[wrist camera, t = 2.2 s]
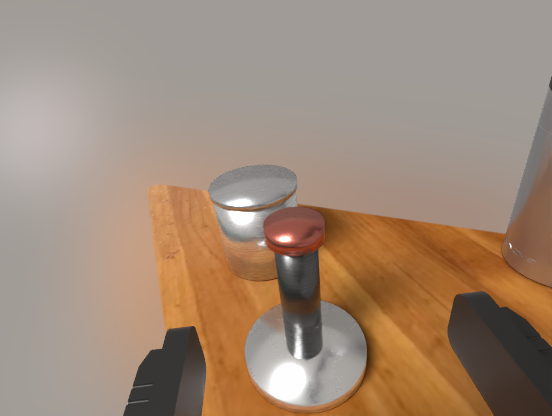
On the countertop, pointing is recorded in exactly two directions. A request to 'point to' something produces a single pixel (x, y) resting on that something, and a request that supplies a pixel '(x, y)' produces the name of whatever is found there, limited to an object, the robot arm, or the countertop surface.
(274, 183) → the pot
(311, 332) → the lid
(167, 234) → the countertop surface
